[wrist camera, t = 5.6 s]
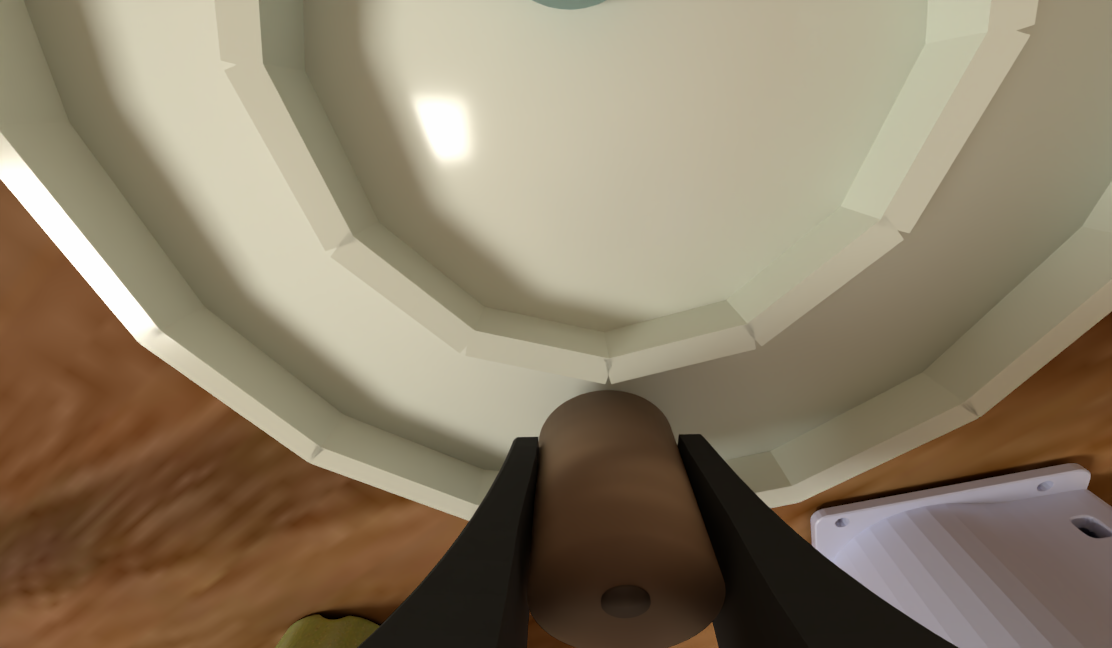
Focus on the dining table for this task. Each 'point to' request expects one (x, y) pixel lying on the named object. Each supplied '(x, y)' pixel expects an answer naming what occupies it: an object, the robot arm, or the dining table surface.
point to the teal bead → (569, 3)
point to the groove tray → (577, 214)
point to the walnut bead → (618, 530)
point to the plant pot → (327, 632)
